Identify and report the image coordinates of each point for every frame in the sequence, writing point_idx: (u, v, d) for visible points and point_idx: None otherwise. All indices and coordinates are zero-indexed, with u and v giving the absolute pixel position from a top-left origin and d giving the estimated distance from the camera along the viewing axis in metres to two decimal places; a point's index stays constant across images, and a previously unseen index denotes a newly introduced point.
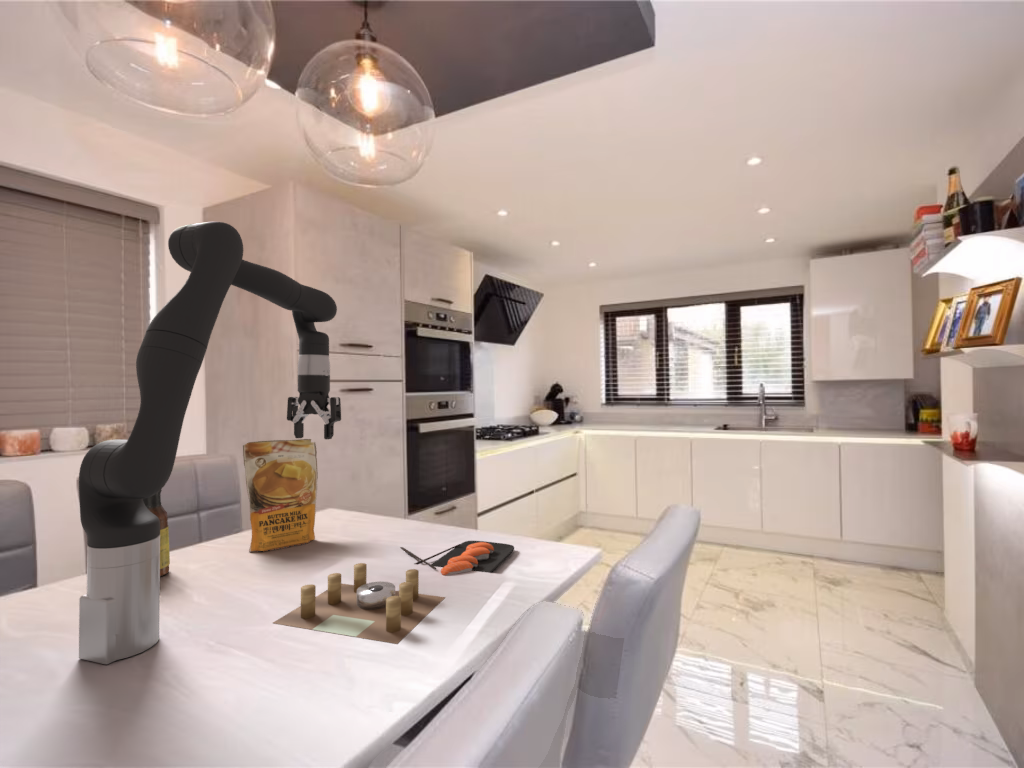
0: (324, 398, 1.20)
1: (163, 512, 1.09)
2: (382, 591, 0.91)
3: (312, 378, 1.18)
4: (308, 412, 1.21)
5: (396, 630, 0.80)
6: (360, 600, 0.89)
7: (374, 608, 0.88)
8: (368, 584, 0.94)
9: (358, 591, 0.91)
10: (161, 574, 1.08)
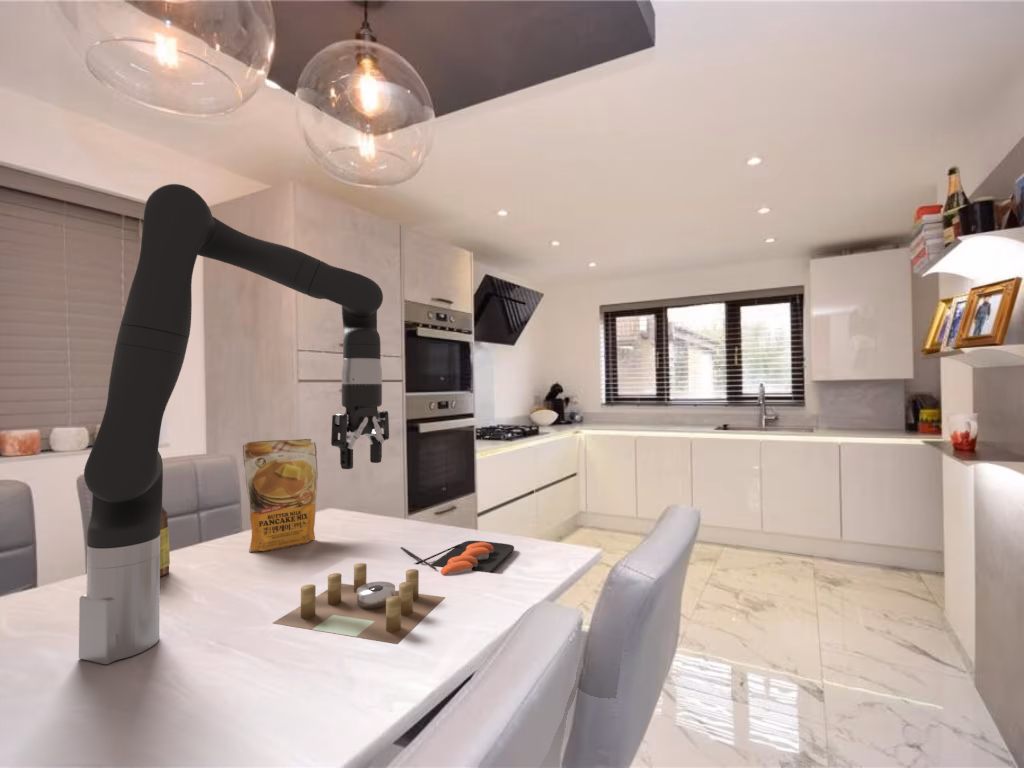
0: (378, 413, 0.98)
1: (163, 512, 1.09)
2: (382, 591, 0.91)
3: (381, 388, 0.96)
4: (364, 432, 0.94)
5: (396, 630, 0.80)
6: (360, 600, 0.89)
7: (374, 608, 0.88)
8: (368, 584, 0.94)
9: (358, 591, 0.91)
10: (161, 574, 1.08)
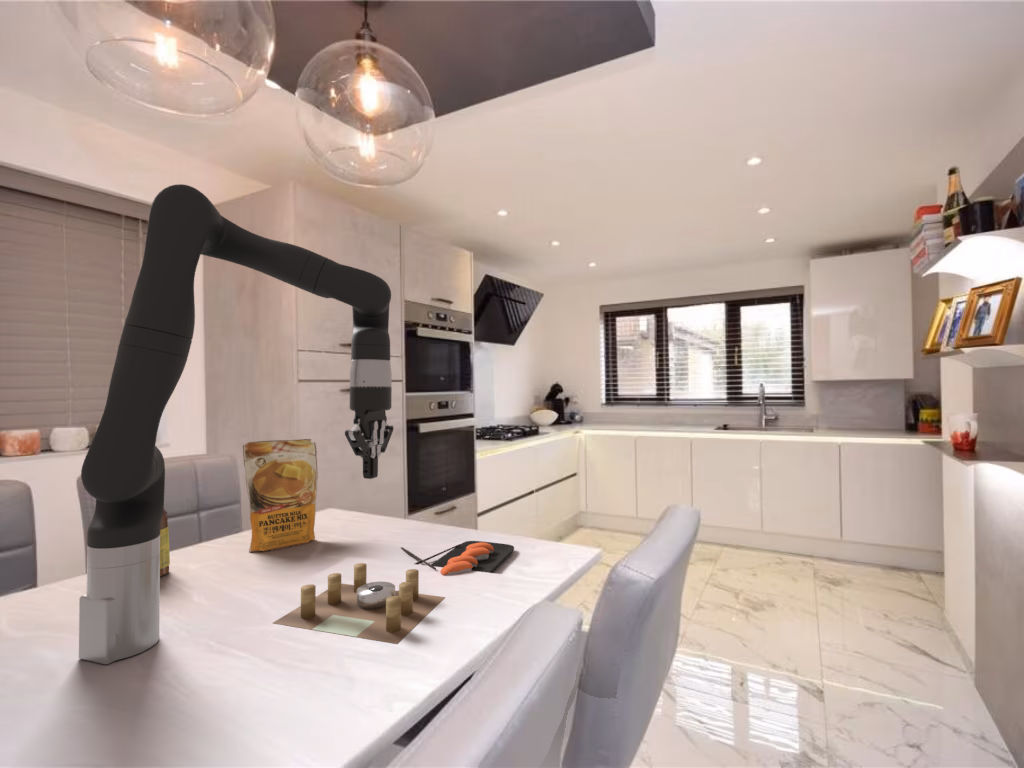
0: None
1: (163, 512, 1.09)
2: (382, 591, 0.91)
3: (391, 391, 0.92)
4: (377, 431, 0.91)
5: (396, 630, 0.80)
6: (360, 600, 0.89)
7: (374, 608, 0.88)
8: (368, 584, 0.94)
9: (358, 591, 0.91)
10: (161, 574, 1.08)
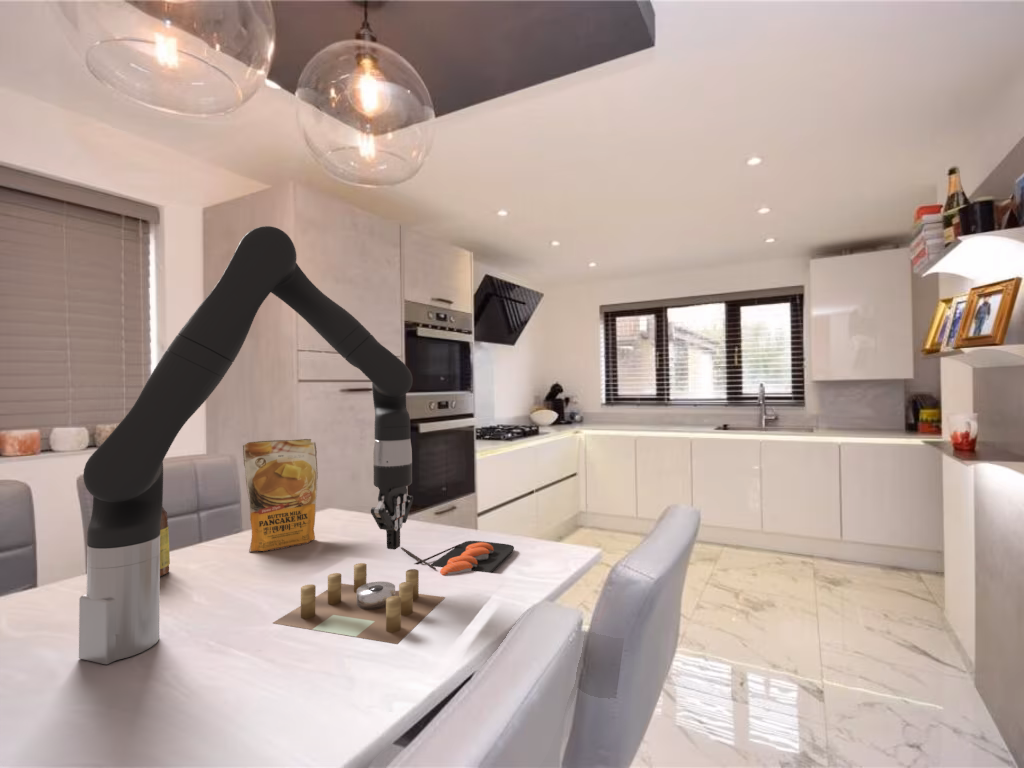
0: None
1: (163, 512, 1.09)
2: (382, 591, 0.91)
3: None
4: (399, 504, 0.98)
5: (396, 630, 0.80)
6: (360, 600, 0.89)
7: (374, 608, 0.88)
8: (368, 584, 0.94)
9: (358, 591, 0.91)
10: (161, 574, 1.08)
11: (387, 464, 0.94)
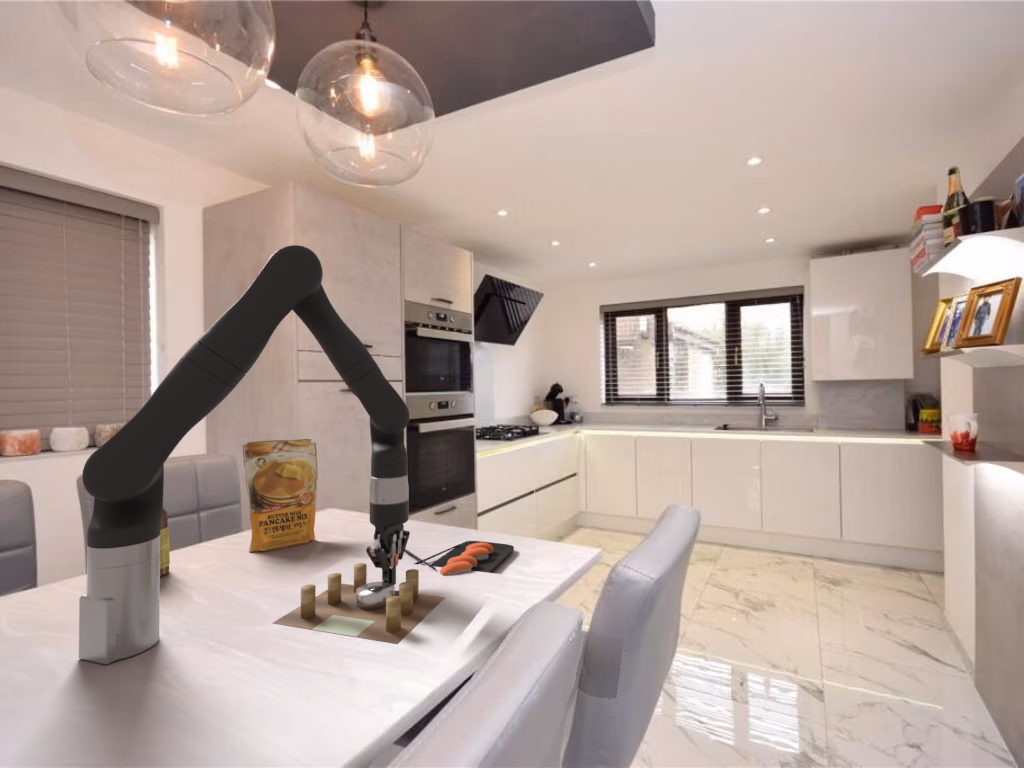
0: (403, 527, 1.00)
1: (163, 512, 1.09)
2: (381, 591, 0.91)
3: None
4: (395, 541, 0.97)
5: (396, 630, 0.80)
6: (359, 600, 0.89)
7: (373, 608, 0.88)
8: (367, 584, 0.94)
9: (357, 591, 0.90)
10: (161, 574, 1.08)
11: (383, 502, 0.93)
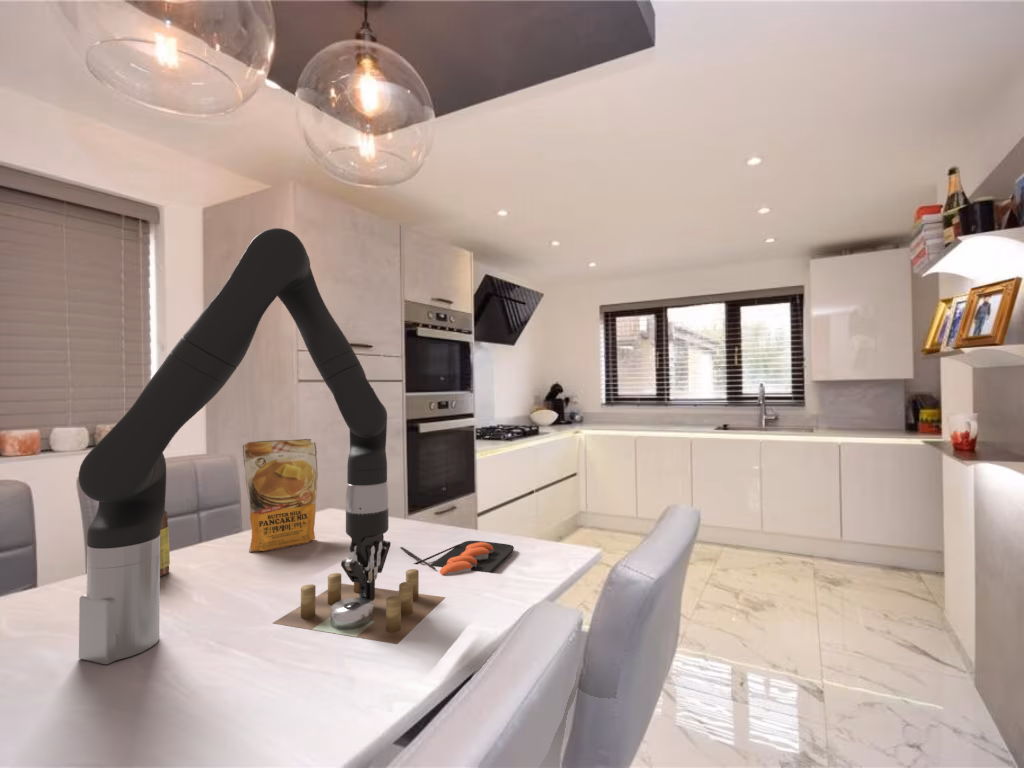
0: (383, 537, 0.93)
1: None
2: (358, 608, 0.83)
3: None
4: (374, 553, 0.90)
5: (396, 630, 0.80)
6: (334, 619, 0.82)
7: (349, 628, 0.81)
8: (344, 601, 0.86)
9: (332, 609, 0.83)
10: (161, 574, 1.08)
11: (360, 511, 0.86)
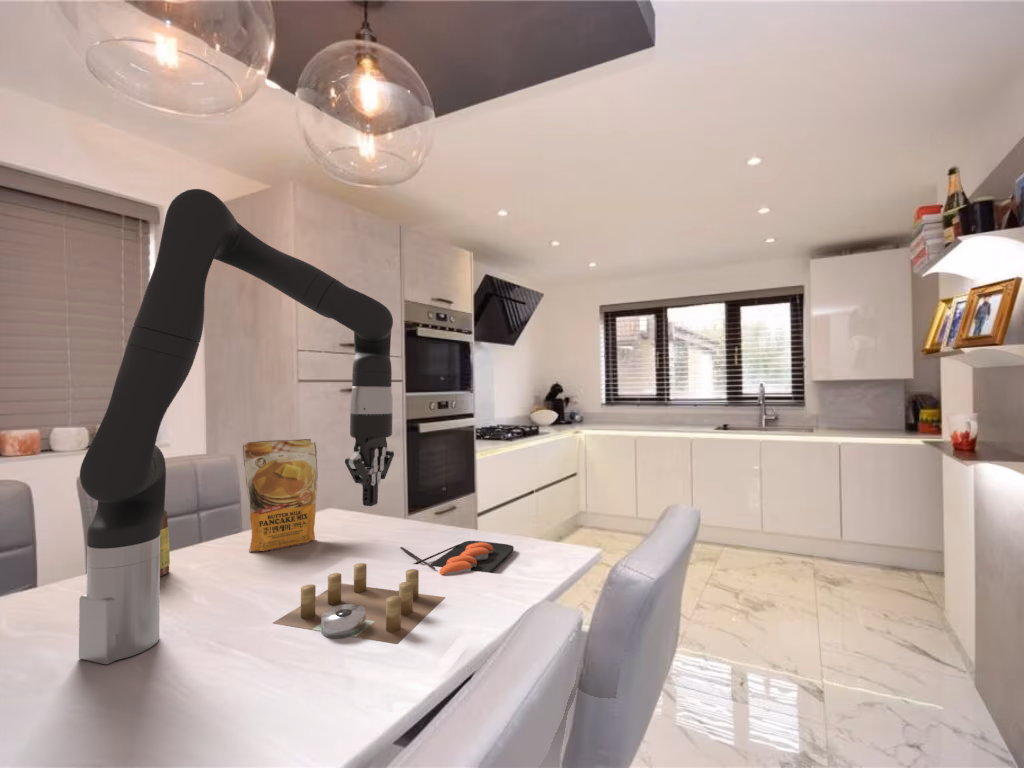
0: (386, 445, 0.94)
1: None
2: (350, 616, 0.81)
3: None
4: (378, 458, 0.91)
5: (396, 630, 0.80)
6: (325, 627, 0.79)
7: (341, 636, 0.78)
8: (335, 608, 0.84)
9: (323, 617, 0.80)
10: (161, 574, 1.08)
11: (364, 412, 0.87)
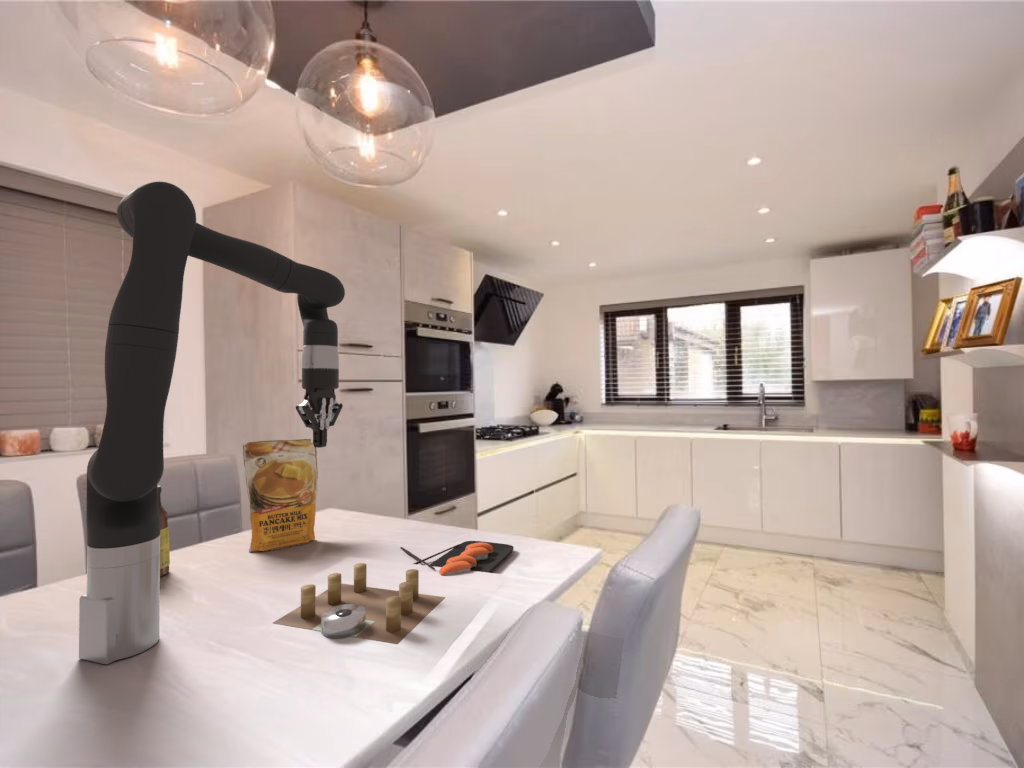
0: (335, 398, 1.10)
1: (163, 512, 1.09)
2: (350, 616, 0.81)
3: (338, 373, 1.07)
4: (326, 407, 1.06)
5: (396, 630, 0.80)
6: (325, 627, 0.79)
7: (341, 636, 0.78)
8: (335, 608, 0.84)
9: (323, 617, 0.80)
10: (161, 574, 1.08)
11: (312, 366, 1.02)
